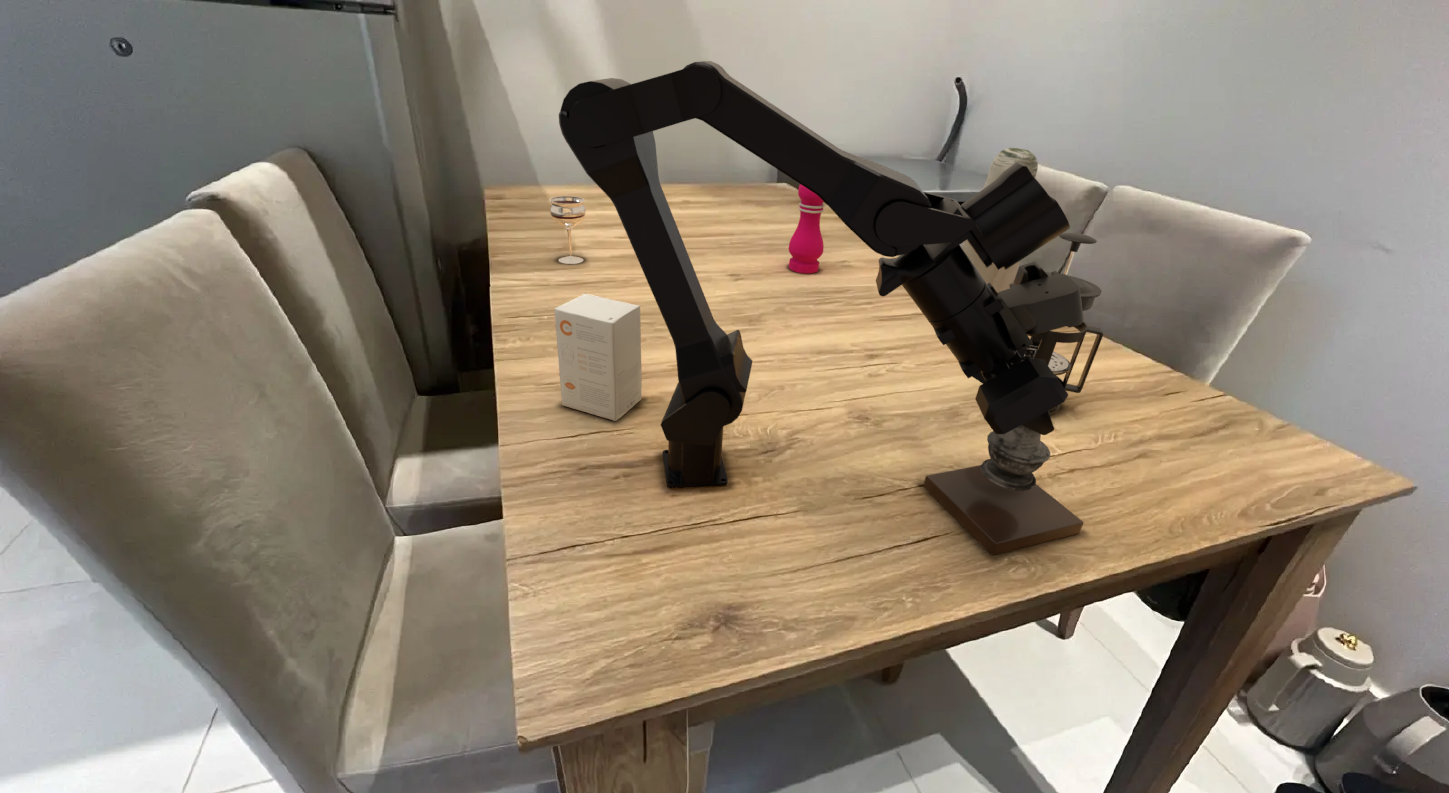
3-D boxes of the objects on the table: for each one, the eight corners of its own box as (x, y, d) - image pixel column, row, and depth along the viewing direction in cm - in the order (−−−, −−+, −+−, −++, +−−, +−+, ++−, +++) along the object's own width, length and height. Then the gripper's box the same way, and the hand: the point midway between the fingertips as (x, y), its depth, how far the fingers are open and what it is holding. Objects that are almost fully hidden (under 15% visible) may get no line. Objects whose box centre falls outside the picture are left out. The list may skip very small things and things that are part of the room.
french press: (981, 405, 85) (1033, 237, 74) (982, 376, 93) (1029, 220, 82) (1075, 426, 82) (1145, 253, 70) (1069, 394, 90) (1130, 234, 78)
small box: (642, 400, 81) (642, 305, 74) (615, 423, 76) (613, 323, 69) (589, 384, 83) (584, 291, 77) (560, 405, 78) (552, 308, 72)
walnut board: (1079, 533, 63) (1084, 522, 62) (991, 555, 60) (996, 543, 59) (1003, 470, 72) (1006, 459, 71) (922, 486, 68) (925, 475, 68)
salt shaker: (1012, 498, 60) (1054, 389, 54) (965, 465, 64) (999, 360, 59) (1051, 483, 63) (1095, 378, 57) (1003, 452, 67) (1039, 351, 61)
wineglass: (594, 259, 129) (592, 200, 123) (571, 267, 124) (567, 205, 118) (570, 253, 132) (566, 194, 126) (546, 260, 127) (541, 199, 121)
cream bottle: (1016, 311, 118) (1065, 153, 104) (973, 316, 114) (1018, 153, 101) (980, 293, 126) (1021, 144, 112) (938, 297, 122) (975, 144, 108)
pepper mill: (780, 264, 134) (790, 166, 124) (808, 262, 137) (821, 166, 127) (797, 275, 128) (810, 173, 118) (827, 273, 131) (842, 173, 121)
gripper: (1083, 279, 44) (1178, 431, 49) (1011, 217, 60) (1088, 335, 65) (942, 365, 49) (1042, 496, 53) (910, 285, 65) (989, 392, 70)
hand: (1042, 421), depth 60 cm, fingers closed on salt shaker, 3 cm apart
